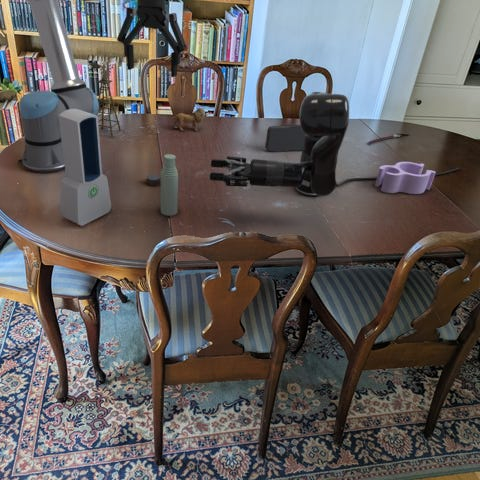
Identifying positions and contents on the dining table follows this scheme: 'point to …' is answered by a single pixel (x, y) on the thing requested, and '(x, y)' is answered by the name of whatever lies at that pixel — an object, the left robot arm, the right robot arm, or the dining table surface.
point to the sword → (386, 138)
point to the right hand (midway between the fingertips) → (210, 169)
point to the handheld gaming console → (284, 138)
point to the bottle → (169, 186)
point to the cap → (153, 180)
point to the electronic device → (82, 168)
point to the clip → (404, 178)
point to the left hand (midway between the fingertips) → (152, 72)
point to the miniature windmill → (105, 81)
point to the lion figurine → (189, 118)
